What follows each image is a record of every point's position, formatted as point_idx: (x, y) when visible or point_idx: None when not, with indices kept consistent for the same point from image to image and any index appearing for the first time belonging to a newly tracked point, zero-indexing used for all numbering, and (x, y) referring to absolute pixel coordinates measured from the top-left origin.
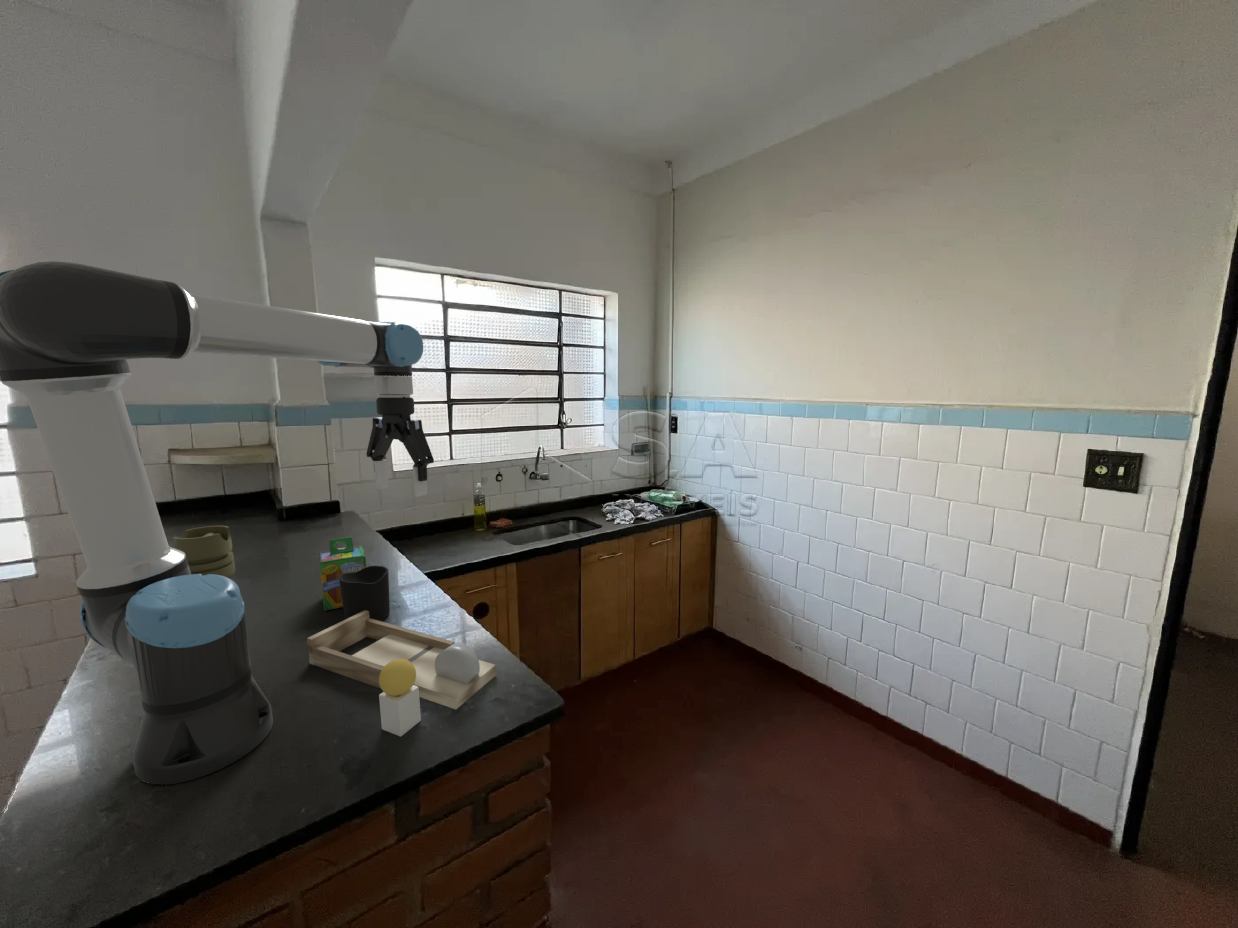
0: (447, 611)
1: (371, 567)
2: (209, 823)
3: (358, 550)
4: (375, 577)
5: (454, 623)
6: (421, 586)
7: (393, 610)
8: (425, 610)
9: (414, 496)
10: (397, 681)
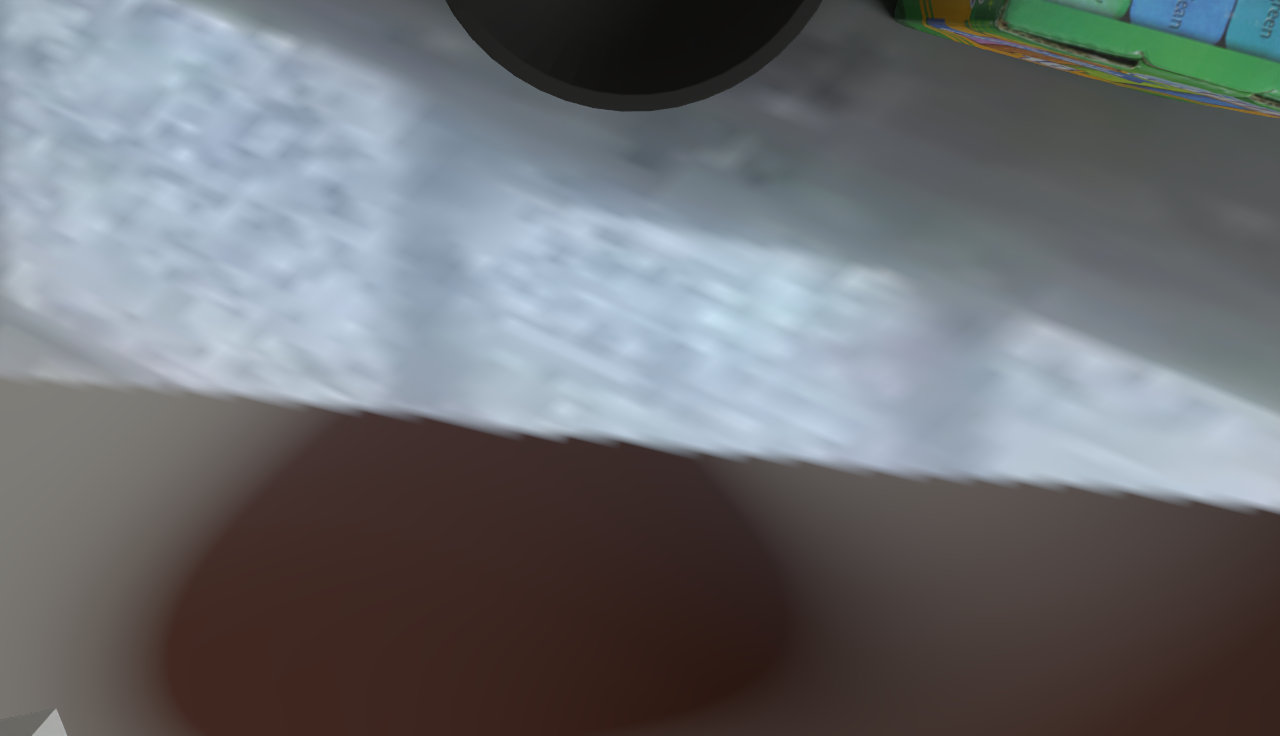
0: (327, 369)
1: (786, 14)
2: None
3: (1222, 28)
4: (699, 18)
5: (126, 319)
6: (871, 429)
7: None
8: (448, 270)
9: (55, 709)
10: None
